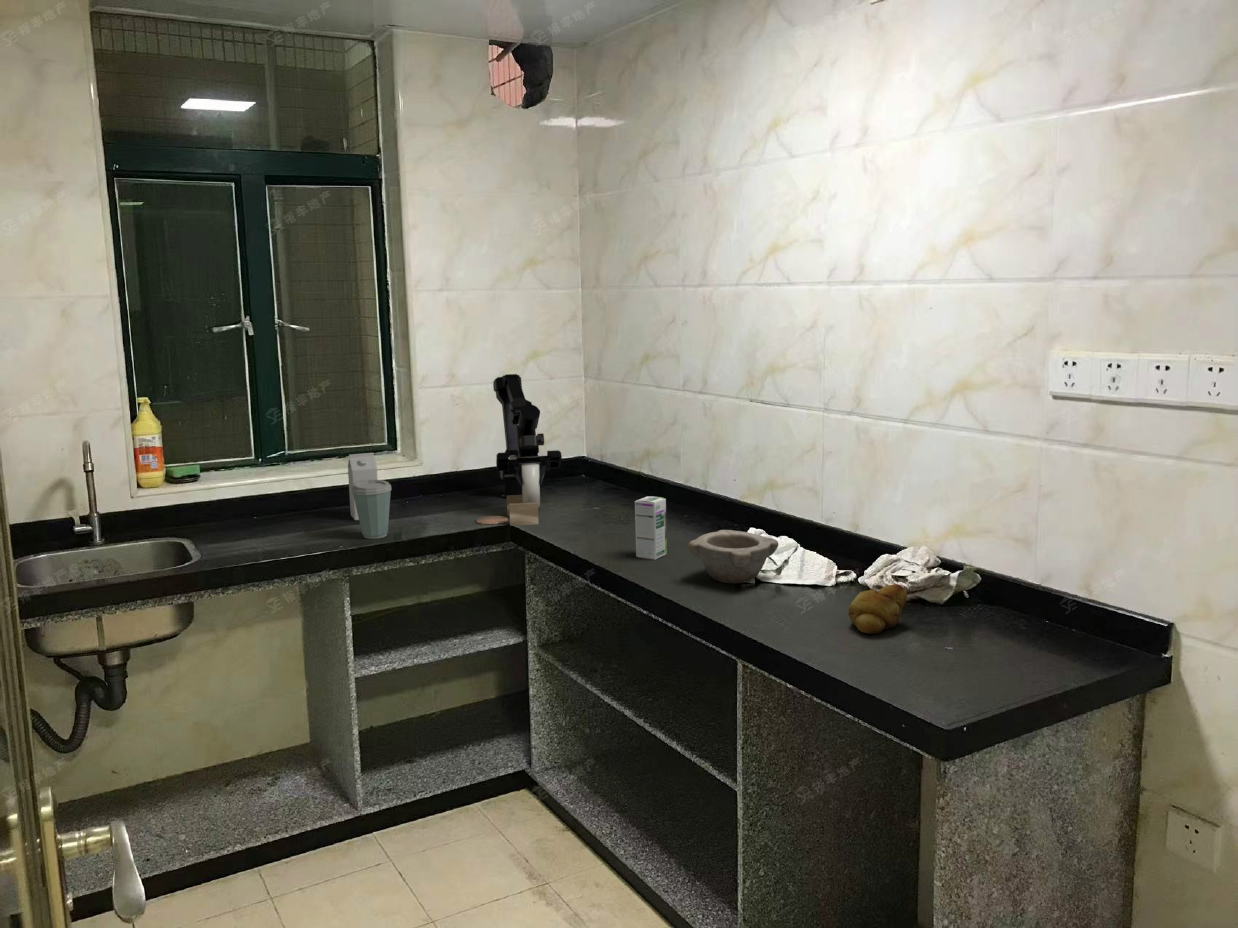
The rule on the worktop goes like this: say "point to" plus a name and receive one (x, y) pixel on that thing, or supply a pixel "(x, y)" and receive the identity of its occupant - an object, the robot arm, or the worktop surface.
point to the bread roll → (877, 608)
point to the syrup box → (650, 527)
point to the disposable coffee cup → (372, 506)
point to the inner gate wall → (513, 501)
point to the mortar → (733, 554)
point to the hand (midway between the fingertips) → (531, 484)
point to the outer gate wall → (523, 513)
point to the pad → (491, 520)
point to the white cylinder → (531, 483)
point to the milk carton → (360, 474)
